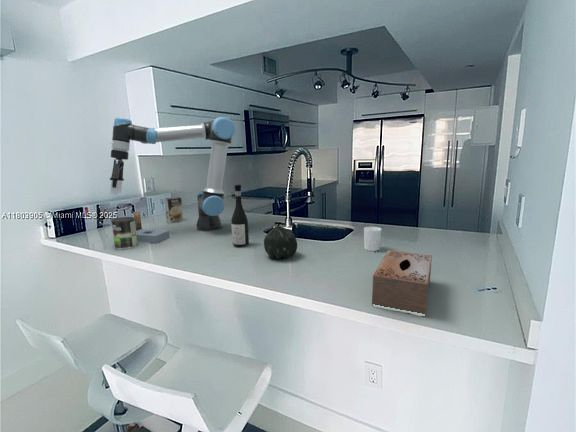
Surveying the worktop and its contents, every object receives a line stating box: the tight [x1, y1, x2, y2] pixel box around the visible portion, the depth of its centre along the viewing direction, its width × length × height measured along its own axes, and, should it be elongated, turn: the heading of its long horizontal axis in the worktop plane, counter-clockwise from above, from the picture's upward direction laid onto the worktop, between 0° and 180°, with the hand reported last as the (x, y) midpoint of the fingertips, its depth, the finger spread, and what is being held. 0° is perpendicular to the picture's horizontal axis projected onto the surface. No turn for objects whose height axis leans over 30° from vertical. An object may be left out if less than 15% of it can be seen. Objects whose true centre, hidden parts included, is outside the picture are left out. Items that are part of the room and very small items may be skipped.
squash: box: [263, 225, 298, 260], centre depth 135 cm, size 14×15×15 cm
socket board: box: [136, 228, 170, 244], centre depth 166 cm, size 18×11×4 cm, turn 76°
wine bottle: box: [230, 184, 250, 248], centre depth 150 cm, size 8×8×30 cm
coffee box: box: [164, 197, 184, 224], centre depth 207 cm, size 9×6×16 cm
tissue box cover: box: [371, 249, 433, 315], centre depth 98 cm, size 26×14×10 cm, turn 153°
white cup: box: [363, 226, 382, 250], centre depth 142 cm, size 8×8×10 cm
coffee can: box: [110, 216, 138, 251], centre depth 153 cm, size 10×10×14 cm
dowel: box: [133, 211, 143, 231], centre depth 179 cm, size 3×3×12 cm
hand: (115, 193), depth 152 cm, fingers open, 13 cm apart
